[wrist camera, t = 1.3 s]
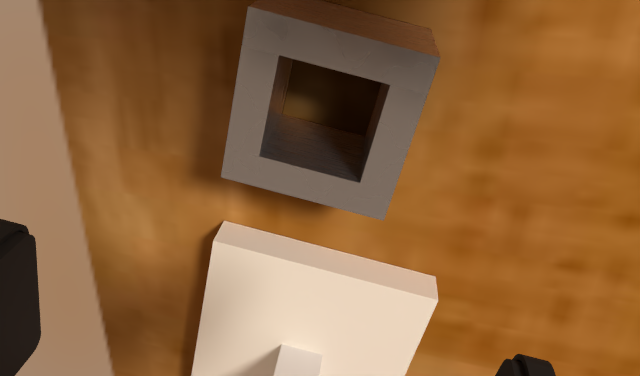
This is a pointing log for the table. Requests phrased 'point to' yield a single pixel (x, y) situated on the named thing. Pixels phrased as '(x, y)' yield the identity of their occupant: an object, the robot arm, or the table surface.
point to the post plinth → (306, 310)
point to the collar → (315, 139)
